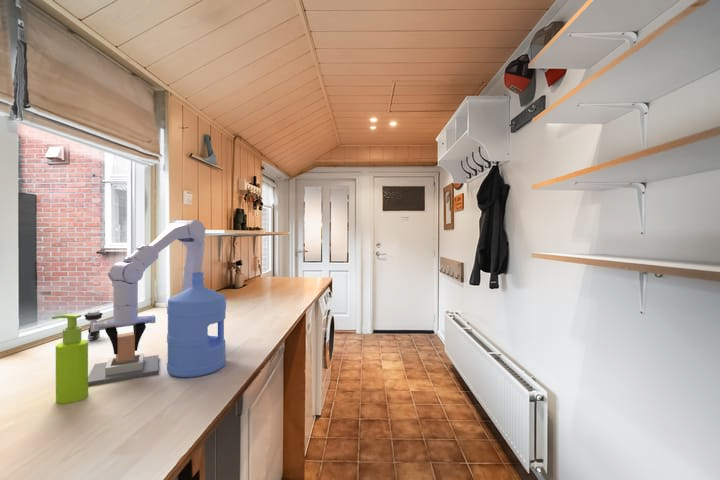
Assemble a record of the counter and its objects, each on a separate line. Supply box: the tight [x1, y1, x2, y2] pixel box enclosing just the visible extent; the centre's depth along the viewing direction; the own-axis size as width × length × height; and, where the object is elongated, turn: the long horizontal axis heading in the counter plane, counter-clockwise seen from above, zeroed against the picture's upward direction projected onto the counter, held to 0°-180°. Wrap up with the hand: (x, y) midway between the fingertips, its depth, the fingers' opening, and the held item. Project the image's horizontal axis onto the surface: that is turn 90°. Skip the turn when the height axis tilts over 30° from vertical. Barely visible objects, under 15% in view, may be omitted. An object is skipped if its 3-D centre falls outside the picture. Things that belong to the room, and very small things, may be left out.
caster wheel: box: [83, 310, 103, 341], centre depth 125 cm, size 7×5×10 cm
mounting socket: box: [88, 353, 159, 387], centre depth 97 cm, size 16×14×3 cm
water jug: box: [166, 271, 227, 378], centre depth 100 cm, size 16×16×28 cm
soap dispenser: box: [51, 313, 89, 405], centre depth 81 cm, size 6×7×20 cm
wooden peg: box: [115, 331, 136, 363], centre depth 98 cm, size 4×4×7 cm
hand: (125, 351), depth 97 cm, fingers closed on wooden peg, 4 cm apart
